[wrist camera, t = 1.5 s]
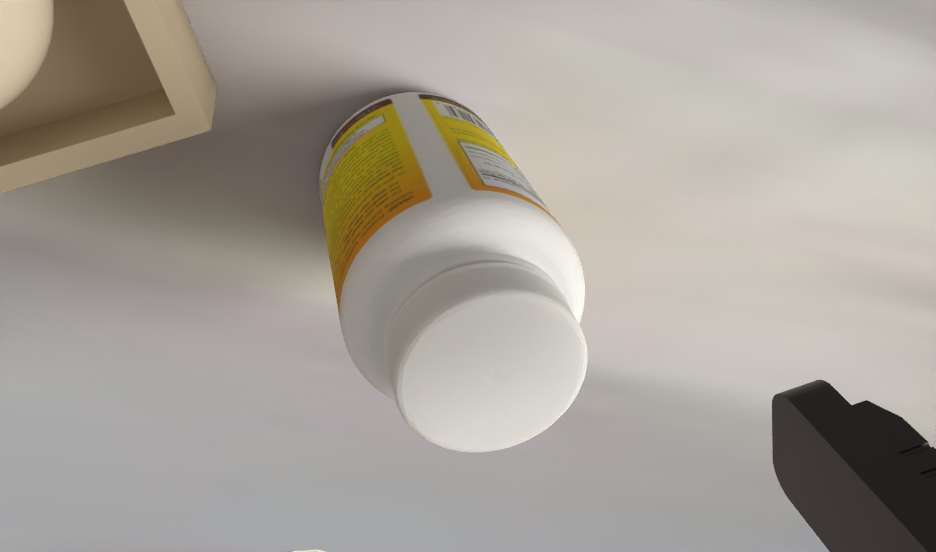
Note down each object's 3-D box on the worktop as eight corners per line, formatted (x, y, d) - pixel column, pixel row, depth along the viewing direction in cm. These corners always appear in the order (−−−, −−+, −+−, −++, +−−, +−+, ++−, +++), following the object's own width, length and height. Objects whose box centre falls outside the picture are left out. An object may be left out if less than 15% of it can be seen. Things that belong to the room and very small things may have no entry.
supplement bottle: (323, 262, 25) (356, 502, 16) (310, 89, 22) (342, 266, 14) (495, 248, 26) (610, 465, 17) (504, 81, 23) (645, 241, 15)
